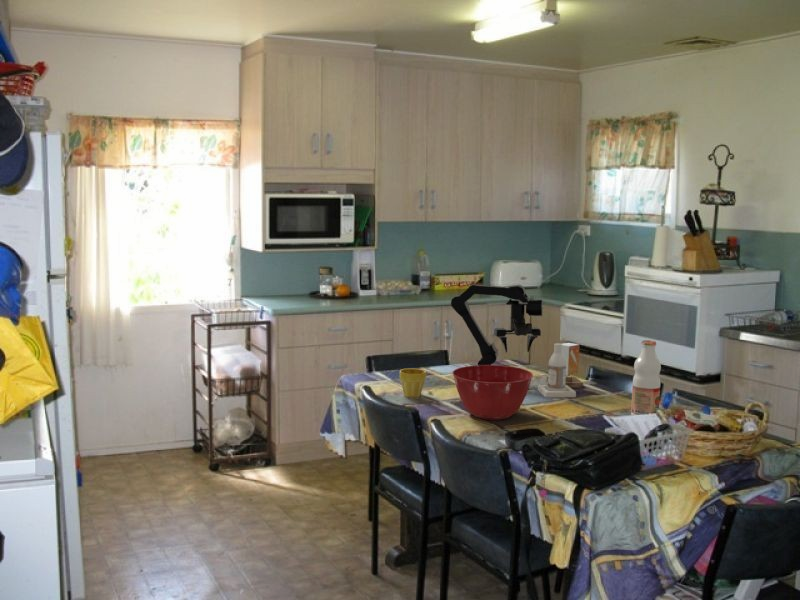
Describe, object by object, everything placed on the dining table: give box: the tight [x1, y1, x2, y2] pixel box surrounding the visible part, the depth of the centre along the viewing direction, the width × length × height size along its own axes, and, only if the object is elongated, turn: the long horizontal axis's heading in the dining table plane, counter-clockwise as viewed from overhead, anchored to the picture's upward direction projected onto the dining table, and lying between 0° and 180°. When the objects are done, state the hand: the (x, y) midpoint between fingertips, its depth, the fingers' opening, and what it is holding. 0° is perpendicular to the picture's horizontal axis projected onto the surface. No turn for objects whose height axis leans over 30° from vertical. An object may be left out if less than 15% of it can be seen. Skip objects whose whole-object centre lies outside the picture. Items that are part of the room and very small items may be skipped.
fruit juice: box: [630, 339, 662, 416], centre depth 294 cm, size 9×9×28 cm
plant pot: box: [399, 367, 427, 399], centre depth 323 cm, size 10×10×10 cm
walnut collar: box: [546, 375, 584, 389], centre depth 347 cm, size 12×12×2 cm
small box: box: [561, 342, 580, 376], centre depth 369 cm, size 8×6×13 cm
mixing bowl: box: [452, 364, 534, 421], centre depth 296 cm, size 28×28×16 cm
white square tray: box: [537, 384, 577, 398], centre depth 331 cm, size 12×12×2 cm
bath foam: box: [547, 342, 567, 391], centre depth 330 cm, size 7×7×20 cm
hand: (517, 352), depth 348 cm, fingers open, 9 cm apart
